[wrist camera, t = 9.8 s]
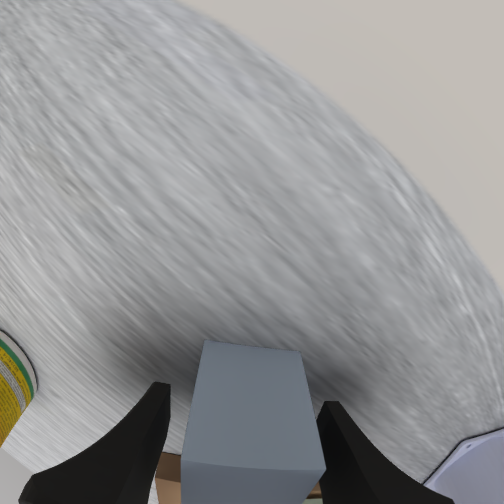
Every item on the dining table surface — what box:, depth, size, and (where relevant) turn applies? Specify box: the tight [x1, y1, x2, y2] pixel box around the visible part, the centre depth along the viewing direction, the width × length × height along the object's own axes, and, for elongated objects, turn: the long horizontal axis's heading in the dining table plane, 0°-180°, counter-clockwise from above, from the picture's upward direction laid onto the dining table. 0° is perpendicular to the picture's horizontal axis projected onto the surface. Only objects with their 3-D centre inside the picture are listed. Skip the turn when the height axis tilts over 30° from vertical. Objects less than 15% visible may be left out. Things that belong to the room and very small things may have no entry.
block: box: [181, 340, 326, 504], centre depth 10 cm, size 4×4×6 cm
